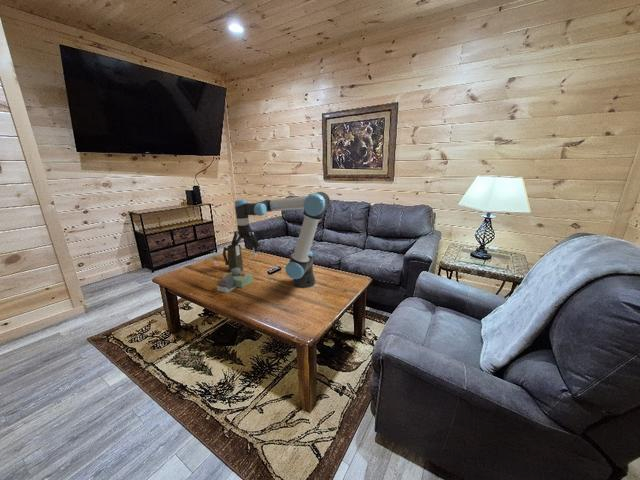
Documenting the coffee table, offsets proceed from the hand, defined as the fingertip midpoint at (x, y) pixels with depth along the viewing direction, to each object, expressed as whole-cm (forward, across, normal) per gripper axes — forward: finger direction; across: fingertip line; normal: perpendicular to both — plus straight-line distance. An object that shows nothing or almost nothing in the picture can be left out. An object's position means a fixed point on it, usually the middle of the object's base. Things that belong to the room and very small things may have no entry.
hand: (246, 255), depth 173 cm
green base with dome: (+20, +10, +5) cm, 23 cm away
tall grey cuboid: (+20, +10, +10) cm, 24 cm away
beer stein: (+20, +27, -17) cm, 37 cm away
